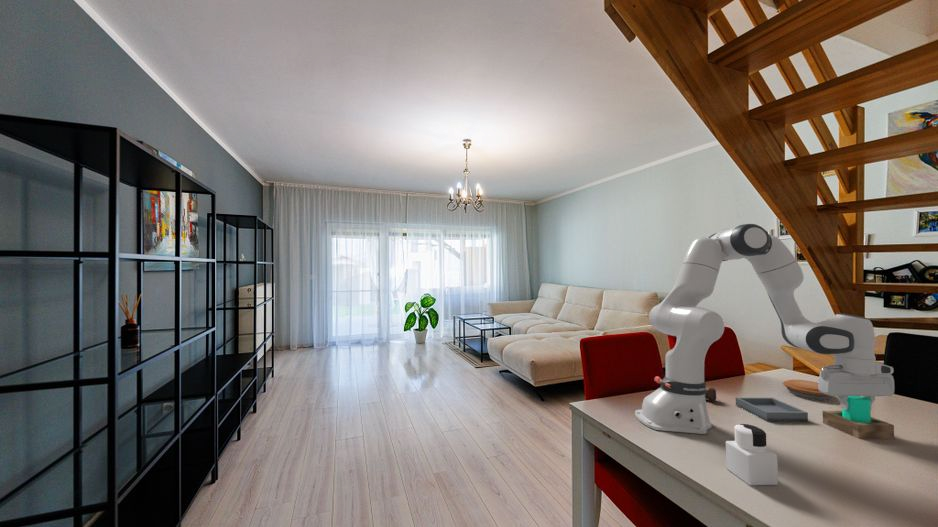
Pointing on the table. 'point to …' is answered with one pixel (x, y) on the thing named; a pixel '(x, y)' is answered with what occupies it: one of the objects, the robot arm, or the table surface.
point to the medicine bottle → (751, 456)
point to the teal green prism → (858, 409)
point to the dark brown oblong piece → (711, 395)
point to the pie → (805, 389)
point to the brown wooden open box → (859, 426)
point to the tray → (772, 409)
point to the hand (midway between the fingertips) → (856, 409)
